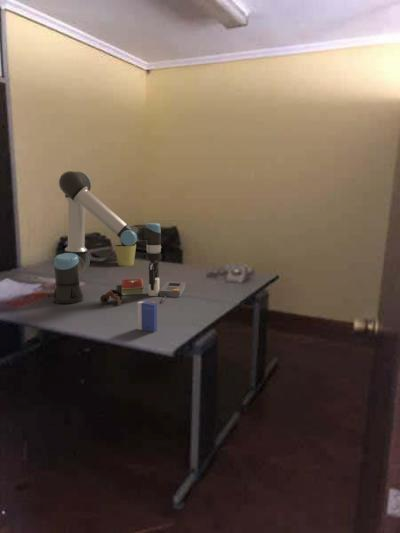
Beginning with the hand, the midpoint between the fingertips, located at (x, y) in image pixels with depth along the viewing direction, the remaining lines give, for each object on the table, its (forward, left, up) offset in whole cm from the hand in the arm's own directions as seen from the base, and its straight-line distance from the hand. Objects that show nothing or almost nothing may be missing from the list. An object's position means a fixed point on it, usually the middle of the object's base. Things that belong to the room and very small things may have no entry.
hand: (154, 294), depth 214 cm
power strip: (+2, -9, 0) cm, 9 cm away
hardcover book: (+8, +15, -1) cm, 17 cm away
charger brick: (0, 0, 0) cm, 0 cm away
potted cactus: (+73, +38, -1) cm, 82 cm away
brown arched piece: (-21, +17, -1) cm, 27 cm away
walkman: (-51, -9, -1) cm, 52 cm away
